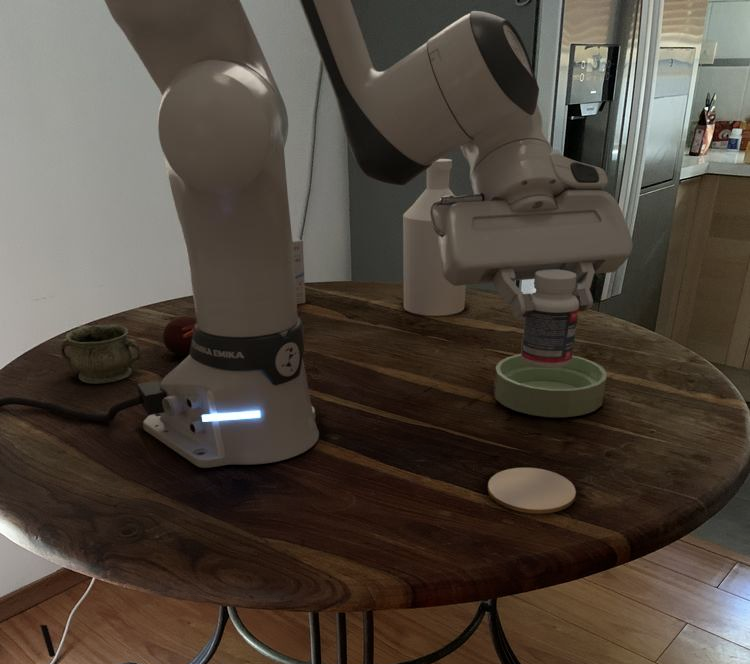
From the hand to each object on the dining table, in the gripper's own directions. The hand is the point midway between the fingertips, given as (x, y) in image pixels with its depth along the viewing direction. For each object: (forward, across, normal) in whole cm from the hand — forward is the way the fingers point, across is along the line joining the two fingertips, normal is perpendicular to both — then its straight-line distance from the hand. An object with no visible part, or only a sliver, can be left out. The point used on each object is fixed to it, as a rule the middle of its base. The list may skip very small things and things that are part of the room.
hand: (555, 311), depth 73 cm
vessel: (-20, -46, +45) cm, 67 cm away
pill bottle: (+3, 0, +4) cm, 5 cm away
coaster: (+16, -4, +8) cm, 18 cm away
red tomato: (-23, -33, +48) cm, 62 cm away
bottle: (-32, +13, +57) cm, 66 cm away
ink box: (-41, -14, +65) cm, 78 cm away
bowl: (0, +11, +24) cm, 26 cm away
